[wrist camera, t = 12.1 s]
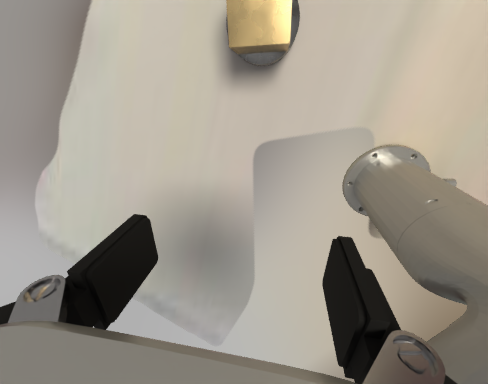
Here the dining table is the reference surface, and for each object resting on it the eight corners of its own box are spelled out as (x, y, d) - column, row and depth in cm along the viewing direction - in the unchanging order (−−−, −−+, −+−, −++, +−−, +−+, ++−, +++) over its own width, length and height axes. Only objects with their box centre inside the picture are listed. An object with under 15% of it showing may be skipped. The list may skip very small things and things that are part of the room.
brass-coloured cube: (290, -16, 24) (294, -43, 19) (287, 51, 27) (289, 43, 22) (235, -10, 25) (224, -35, 20) (238, 54, 28) (229, 47, 23)
